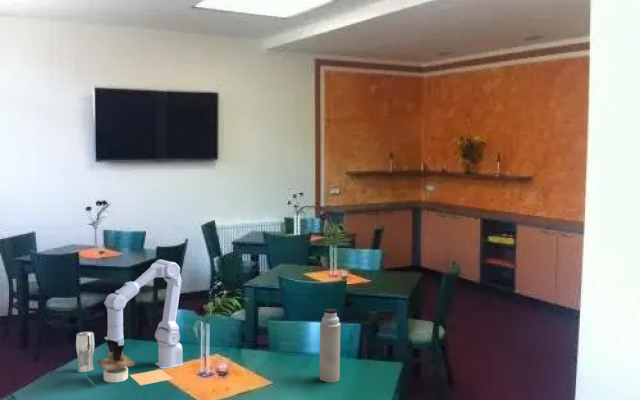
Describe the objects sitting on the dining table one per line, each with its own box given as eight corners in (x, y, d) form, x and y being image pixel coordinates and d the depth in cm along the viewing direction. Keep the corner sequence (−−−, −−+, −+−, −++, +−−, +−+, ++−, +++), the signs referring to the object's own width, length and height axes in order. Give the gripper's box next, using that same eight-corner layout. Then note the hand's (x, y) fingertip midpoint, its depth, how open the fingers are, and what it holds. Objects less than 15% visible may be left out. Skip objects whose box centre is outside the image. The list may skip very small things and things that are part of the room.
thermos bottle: (323, 374, 263) (324, 306, 261) (342, 376, 261) (343, 308, 258) (316, 380, 256) (317, 310, 253) (335, 383, 253) (337, 312, 251)
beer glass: (88, 373, 260) (88, 336, 259) (73, 372, 261) (72, 335, 260) (98, 368, 267) (97, 332, 265) (82, 366, 268) (82, 330, 267)
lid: (125, 357, 261) (125, 346, 261) (134, 365, 252) (134, 353, 252) (97, 362, 255) (97, 351, 255) (106, 370, 246) (105, 359, 246)
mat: (161, 370, 265) (161, 369, 265) (173, 380, 254) (173, 378, 254) (129, 376, 258) (129, 375, 257) (140, 386, 247) (140, 385, 247)
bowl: (123, 374, 260) (123, 364, 260) (130, 380, 253) (130, 370, 253) (101, 378, 255) (101, 368, 255) (108, 385, 248) (107, 374, 248)
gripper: (99, 322, 256) (99, 355, 257) (110, 330, 244) (111, 366, 245) (117, 319, 260) (117, 352, 261) (129, 328, 248) (129, 362, 249)
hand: (115, 359), depth 253 cm, fingers closed on lid, 3 cm apart
